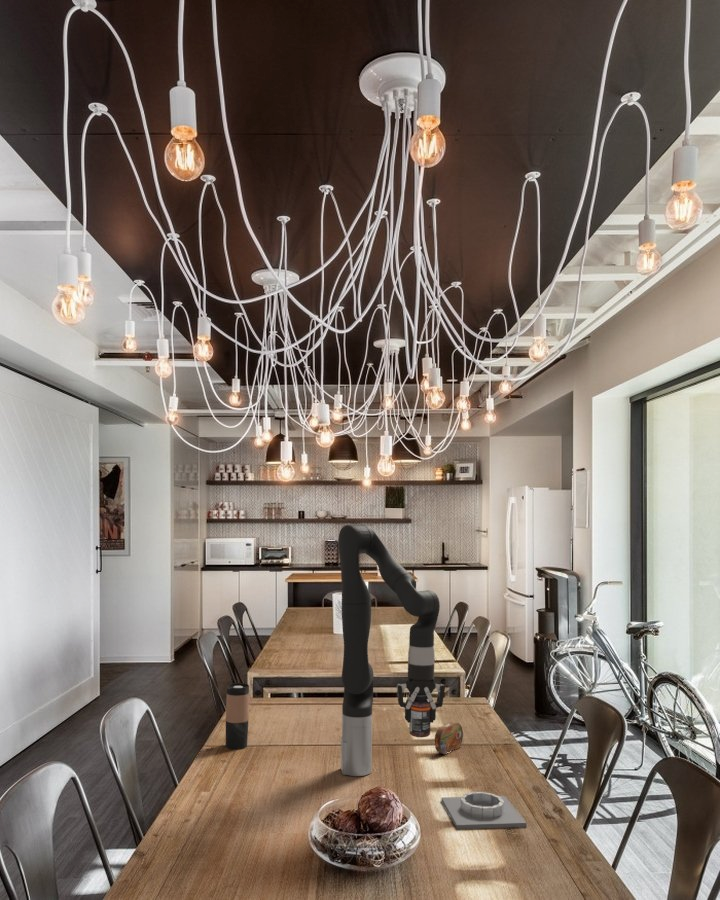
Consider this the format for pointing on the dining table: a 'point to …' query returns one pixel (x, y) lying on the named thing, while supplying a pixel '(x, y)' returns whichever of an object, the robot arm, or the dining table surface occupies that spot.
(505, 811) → the duct base board
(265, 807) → the dining table surface
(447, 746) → the tin
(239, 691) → the travel mug
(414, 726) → the supplement bottle
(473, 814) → the collar
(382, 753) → the dining table surface
